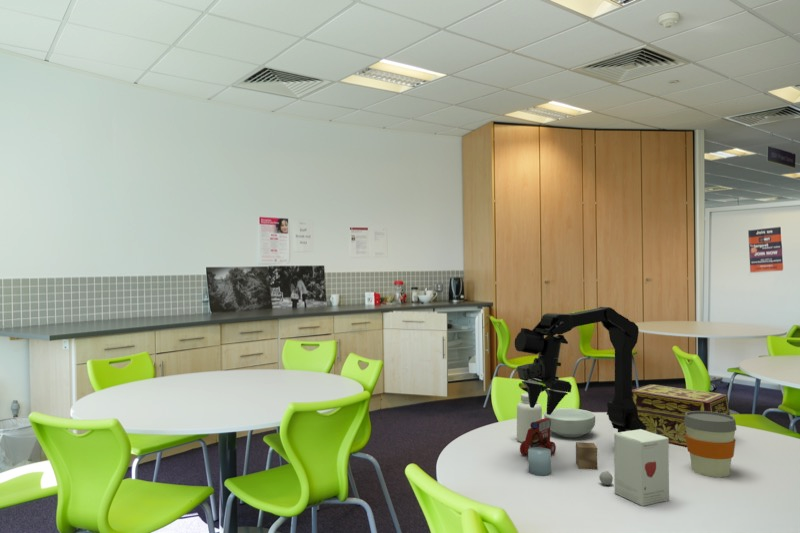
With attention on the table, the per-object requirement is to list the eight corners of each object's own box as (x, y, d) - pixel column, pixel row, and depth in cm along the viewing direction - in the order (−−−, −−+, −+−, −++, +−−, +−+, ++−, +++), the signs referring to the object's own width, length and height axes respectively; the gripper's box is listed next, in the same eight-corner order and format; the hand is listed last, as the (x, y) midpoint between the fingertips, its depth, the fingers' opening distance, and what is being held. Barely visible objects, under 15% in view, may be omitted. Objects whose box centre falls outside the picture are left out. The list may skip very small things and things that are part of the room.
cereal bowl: (554, 425, 202) (554, 405, 202) (602, 432, 192) (601, 411, 193) (536, 436, 188) (536, 415, 189) (586, 444, 179) (586, 422, 179)
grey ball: (612, 482, 145) (612, 470, 145) (612, 487, 142) (612, 474, 142) (599, 481, 146) (599, 469, 146) (599, 485, 143) (599, 473, 143)
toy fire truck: (515, 457, 167) (515, 421, 167) (539, 448, 175) (538, 414, 176) (536, 462, 162) (535, 426, 162) (559, 453, 170) (558, 418, 170)
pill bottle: (542, 445, 178) (542, 397, 179) (516, 443, 180) (516, 396, 180) (541, 438, 186) (541, 392, 186) (516, 436, 188) (516, 391, 188)
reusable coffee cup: (731, 466, 157) (730, 412, 157) (742, 481, 145) (741, 423, 146) (681, 461, 161) (680, 409, 162) (688, 476, 149) (687, 419, 150)
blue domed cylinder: (551, 469, 156) (551, 448, 156) (550, 477, 150) (549, 454, 150) (529, 467, 158) (529, 446, 158) (527, 474, 152) (527, 452, 152)
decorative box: (624, 434, 190) (623, 390, 190) (648, 424, 202) (647, 383, 202) (712, 453, 169) (711, 403, 170) (733, 441, 182) (732, 394, 182)
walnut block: (594, 463, 160) (593, 442, 160) (597, 469, 155) (597, 448, 155) (576, 463, 161) (575, 442, 161) (578, 469, 156) (578, 447, 156)
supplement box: (642, 507, 130) (641, 442, 130) (613, 493, 138) (612, 432, 139) (670, 500, 134) (669, 437, 134) (641, 487, 142) (640, 428, 142)
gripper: (508, 348, 169) (499, 400, 168) (541, 356, 151) (531, 414, 150) (540, 354, 172) (532, 405, 171) (576, 362, 154) (567, 419, 153)
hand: (539, 411), depth 161 cm, fingers open, 9 cm apart
